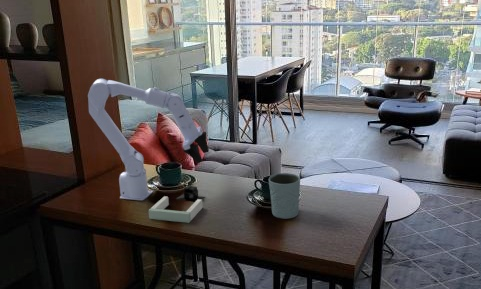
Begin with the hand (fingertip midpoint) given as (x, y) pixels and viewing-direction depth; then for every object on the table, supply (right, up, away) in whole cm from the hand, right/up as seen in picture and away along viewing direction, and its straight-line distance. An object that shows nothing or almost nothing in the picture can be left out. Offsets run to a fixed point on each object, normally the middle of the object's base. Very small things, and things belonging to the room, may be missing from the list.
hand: (203, 157), depth 171 cm
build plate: (-4, -15, -4) cm, 16 cm away
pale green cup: (+28, -18, -19) cm, 38 cm away
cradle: (-7, -18, -16) cm, 25 cm away
